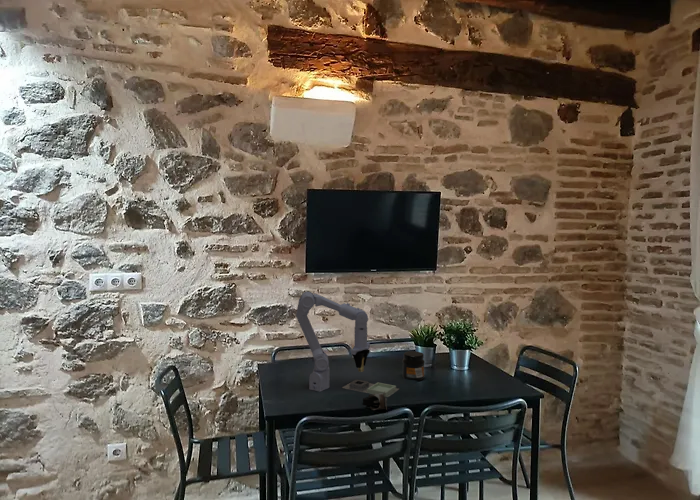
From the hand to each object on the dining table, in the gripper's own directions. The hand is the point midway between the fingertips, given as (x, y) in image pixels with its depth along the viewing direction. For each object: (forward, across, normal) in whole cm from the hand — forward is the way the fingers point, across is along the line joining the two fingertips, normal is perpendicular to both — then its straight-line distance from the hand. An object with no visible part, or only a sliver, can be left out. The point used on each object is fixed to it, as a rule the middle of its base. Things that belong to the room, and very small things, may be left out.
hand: (360, 366), depth 230 cm
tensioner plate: (+10, -1, -5) cm, 11 cm away
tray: (+10, -1, -11) cm, 15 cm away
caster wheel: (+10, -18, -16) cm, 26 cm away
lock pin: (+2, 0, 0) cm, 2 cm away
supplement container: (+10, +25, -16) cm, 31 cm away
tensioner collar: (+10, 0, +1) cm, 10 cm away
